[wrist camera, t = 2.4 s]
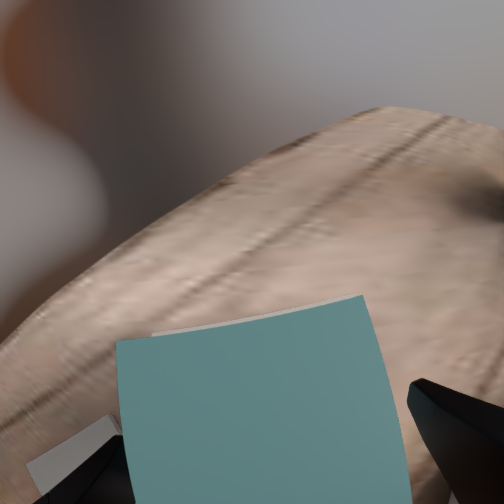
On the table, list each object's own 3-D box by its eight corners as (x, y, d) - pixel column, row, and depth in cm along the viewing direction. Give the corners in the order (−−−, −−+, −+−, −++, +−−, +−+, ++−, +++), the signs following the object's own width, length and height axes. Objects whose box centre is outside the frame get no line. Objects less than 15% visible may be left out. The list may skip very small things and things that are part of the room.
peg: (319, 445, 12) (413, 520, 2) (242, 459, 12) (153, 559, 2) (304, 377, 14) (362, 295, 4) (230, 391, 14) (116, 340, 4)
